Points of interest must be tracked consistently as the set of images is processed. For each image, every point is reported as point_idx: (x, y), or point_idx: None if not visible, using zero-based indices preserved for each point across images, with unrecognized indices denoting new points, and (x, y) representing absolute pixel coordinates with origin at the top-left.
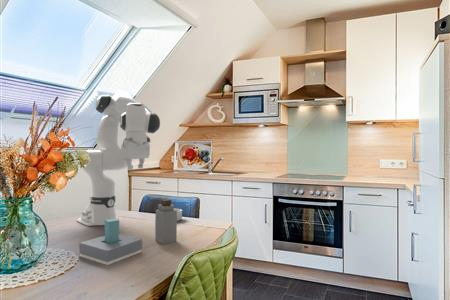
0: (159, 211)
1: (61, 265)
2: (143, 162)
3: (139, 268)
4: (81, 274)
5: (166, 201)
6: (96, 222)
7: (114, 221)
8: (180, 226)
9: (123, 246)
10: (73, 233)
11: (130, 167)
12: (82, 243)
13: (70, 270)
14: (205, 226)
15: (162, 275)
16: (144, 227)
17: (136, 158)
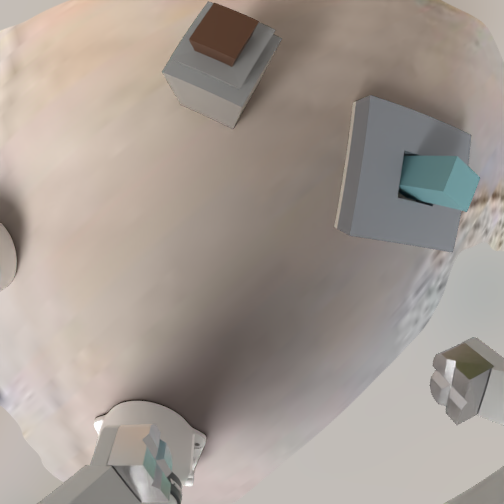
0: (263, 69)
1: (473, 231)
2: (72, 489)
3: (432, 57)
4: (488, 156)
5: (246, 18)
6: (188, 431)
7: (466, 165)
8: (37, 164)
9: (431, 118)
10: (285, 413)
11: (487, 355)
12: (454, 240)
13: (484, 192)
14: (10, 87)
15: (430, 4)
16: (111, 280)
17: (499, 475)
